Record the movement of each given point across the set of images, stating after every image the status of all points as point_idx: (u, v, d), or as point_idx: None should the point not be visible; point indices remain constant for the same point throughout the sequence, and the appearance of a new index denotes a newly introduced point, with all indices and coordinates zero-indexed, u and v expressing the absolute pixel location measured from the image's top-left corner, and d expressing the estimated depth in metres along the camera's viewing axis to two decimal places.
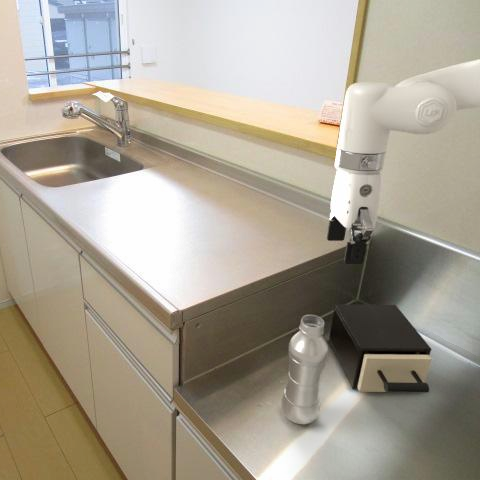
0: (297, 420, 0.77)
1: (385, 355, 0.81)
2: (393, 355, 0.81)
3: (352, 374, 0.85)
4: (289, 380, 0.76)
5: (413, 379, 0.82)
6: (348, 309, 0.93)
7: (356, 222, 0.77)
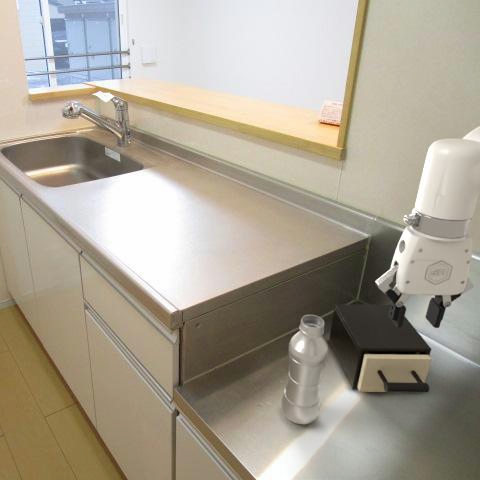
0: (297, 420, 0.77)
1: (385, 355, 0.81)
2: (393, 355, 0.81)
3: (352, 374, 0.85)
4: (289, 380, 0.76)
5: (413, 379, 0.82)
6: (348, 309, 0.93)
7: None
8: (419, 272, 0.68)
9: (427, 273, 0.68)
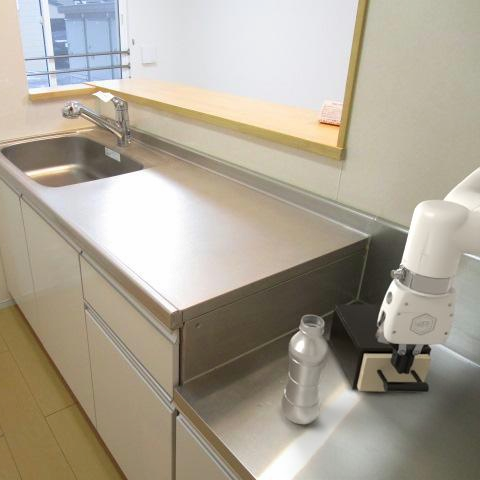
0: (297, 420, 0.77)
1: (385, 354, 0.81)
2: None
3: (352, 374, 0.85)
4: (289, 380, 0.76)
5: (413, 378, 0.82)
6: (348, 309, 0.93)
7: None
8: (405, 323, 0.72)
9: (412, 324, 0.72)
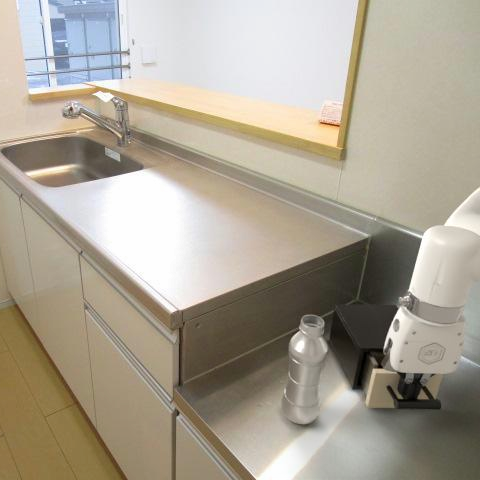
0: (297, 420, 0.77)
1: None
2: None
3: (352, 374, 0.85)
4: (289, 380, 0.76)
5: (424, 395, 0.79)
6: (348, 309, 0.93)
7: None
8: (413, 352, 0.70)
9: (420, 354, 0.70)
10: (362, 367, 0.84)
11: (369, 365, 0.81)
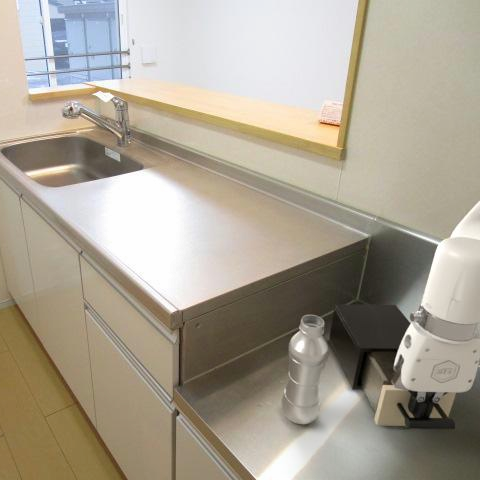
0: (297, 420, 0.77)
1: None
2: None
3: (352, 374, 0.85)
4: (289, 380, 0.76)
5: (436, 412, 0.75)
6: (348, 309, 0.93)
7: None
8: (425, 370, 0.66)
9: (433, 372, 0.66)
10: (370, 382, 0.80)
11: (379, 380, 0.77)
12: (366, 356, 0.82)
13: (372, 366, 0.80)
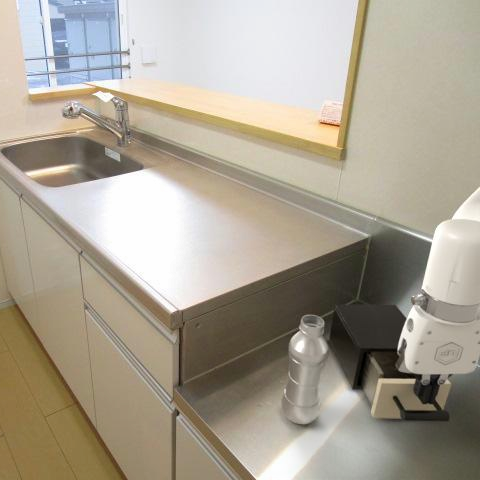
0: (297, 420, 0.77)
1: (401, 380, 0.75)
2: (410, 380, 0.75)
3: (352, 374, 0.85)
4: (289, 380, 0.76)
5: (431, 405, 0.76)
6: (348, 309, 0.93)
7: None
8: (428, 353, 0.66)
9: (437, 354, 0.66)
10: (367, 376, 0.82)
11: (375, 374, 0.79)
12: None
13: (369, 360, 0.81)
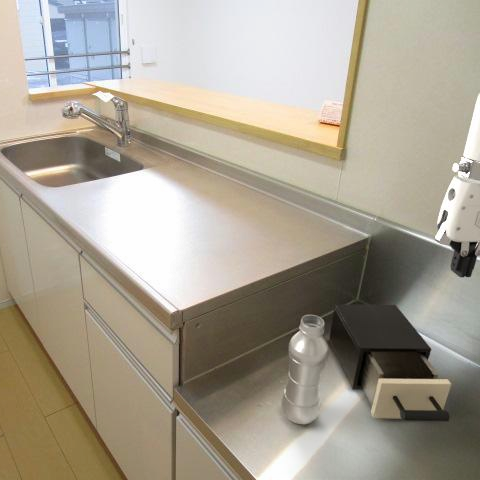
0: (297, 420, 0.77)
1: (401, 380, 0.75)
2: (410, 380, 0.75)
3: (352, 374, 0.85)
4: (289, 380, 0.76)
5: (431, 405, 0.76)
6: (348, 309, 0.93)
7: None
8: (470, 218, 0.70)
9: (477, 219, 0.70)
10: (367, 376, 0.82)
11: (375, 374, 0.79)
12: None
13: (369, 360, 0.81)
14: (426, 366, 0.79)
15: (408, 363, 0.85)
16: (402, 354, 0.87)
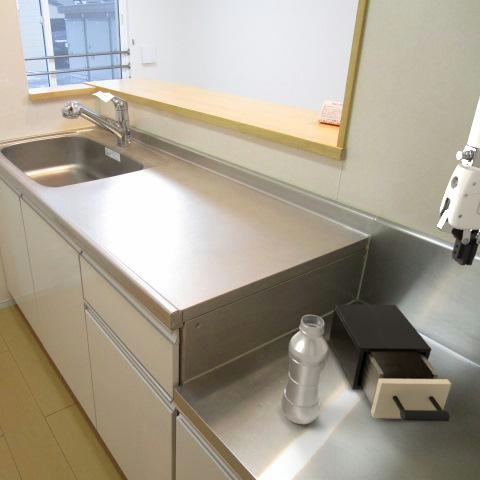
0: (297, 420, 0.77)
1: (401, 380, 0.75)
2: (410, 380, 0.75)
3: (352, 374, 0.85)
4: (289, 380, 0.76)
5: (431, 405, 0.76)
6: (348, 309, 0.93)
7: None
8: (472, 206, 0.71)
9: (479, 207, 0.71)
10: (367, 376, 0.82)
11: (375, 374, 0.79)
12: None
13: (369, 360, 0.81)
14: (426, 366, 0.79)
15: (408, 363, 0.85)
16: (402, 354, 0.87)
